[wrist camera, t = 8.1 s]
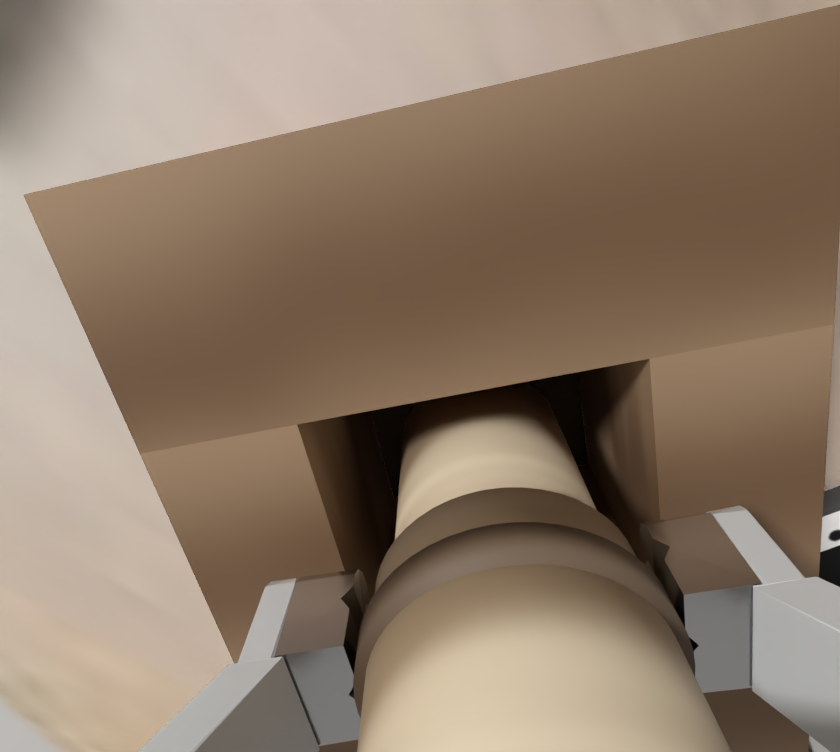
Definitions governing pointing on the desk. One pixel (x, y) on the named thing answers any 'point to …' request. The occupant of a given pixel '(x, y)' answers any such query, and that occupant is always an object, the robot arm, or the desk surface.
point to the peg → (516, 602)
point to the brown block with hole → (483, 305)
